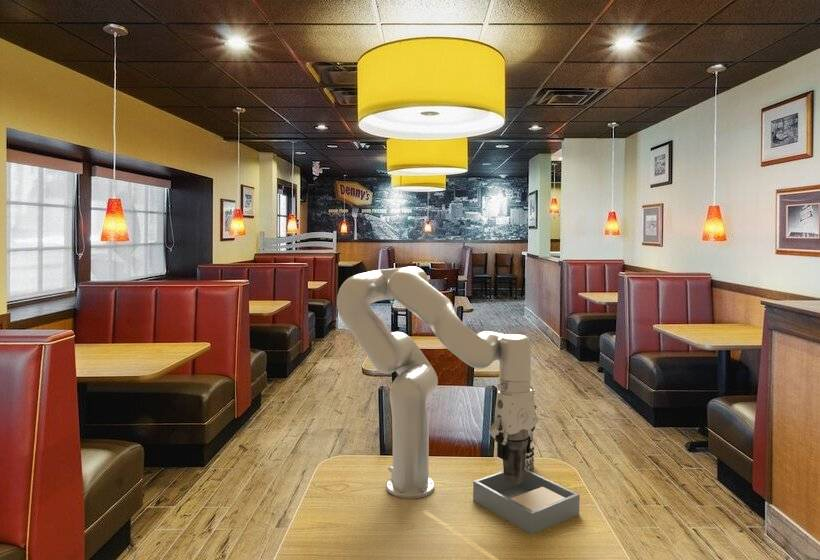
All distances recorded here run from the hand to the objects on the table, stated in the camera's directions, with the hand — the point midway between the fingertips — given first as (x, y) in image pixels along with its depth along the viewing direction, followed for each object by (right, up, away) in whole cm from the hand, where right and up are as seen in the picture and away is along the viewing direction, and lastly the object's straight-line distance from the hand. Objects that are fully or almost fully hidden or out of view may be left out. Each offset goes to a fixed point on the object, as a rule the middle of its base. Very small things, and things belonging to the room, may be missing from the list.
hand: (513, 454), depth 150 cm
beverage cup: (0, -7, +1) cm, 7 cm away
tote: (+2, -13, -2) cm, 14 cm away
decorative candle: (+5, -11, +22) cm, 25 cm away
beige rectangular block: (+5, -13, -6) cm, 15 cm away
